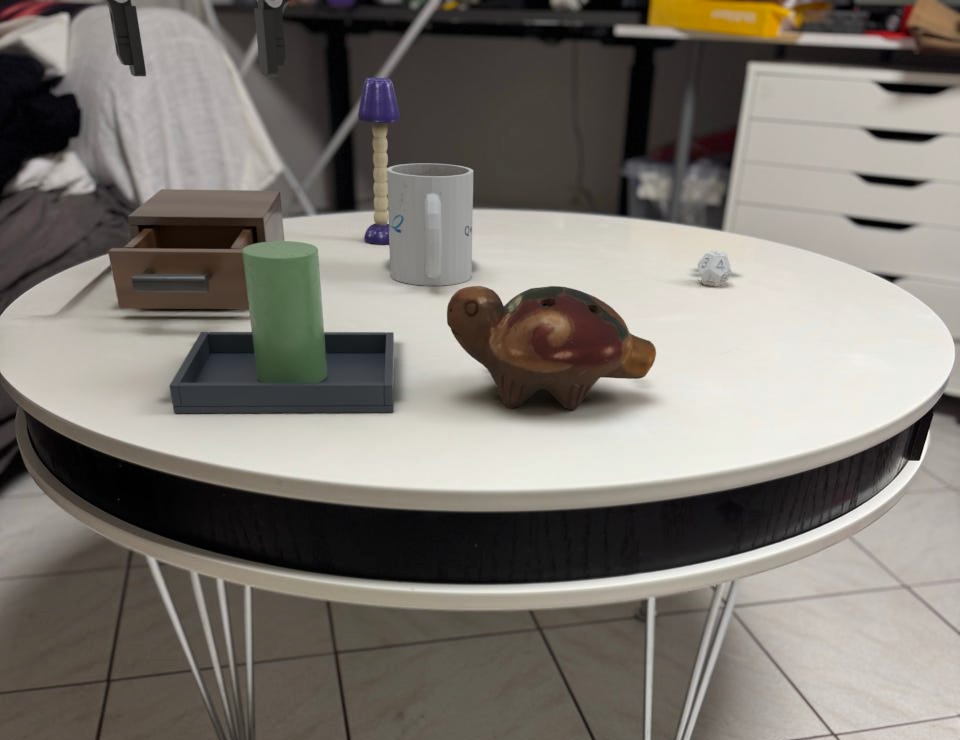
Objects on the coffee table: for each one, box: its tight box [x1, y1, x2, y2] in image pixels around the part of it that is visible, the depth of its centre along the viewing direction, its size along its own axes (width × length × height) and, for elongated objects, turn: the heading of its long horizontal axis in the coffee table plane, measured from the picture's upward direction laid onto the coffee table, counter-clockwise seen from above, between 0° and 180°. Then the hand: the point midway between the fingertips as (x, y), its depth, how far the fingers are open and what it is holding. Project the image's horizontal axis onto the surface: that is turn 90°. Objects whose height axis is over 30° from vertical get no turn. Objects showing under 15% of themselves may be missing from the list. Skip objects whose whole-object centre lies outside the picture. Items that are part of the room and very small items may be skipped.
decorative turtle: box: [446, 285, 657, 411], centre depth 65 cm, size 10×15×8 cm, turn 98°
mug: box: [387, 162, 474, 287], centre depth 92 cm, size 12×9×10 cm
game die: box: [697, 250, 733, 287], centre depth 95 cm, size 4×4×3 cm
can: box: [242, 240, 327, 383], centre depth 66 cm, size 5×5×9 cm
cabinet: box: [127, 188, 286, 243], centre depth 93 cm, size 15×13×7 cm
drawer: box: [107, 225, 257, 310], centre depth 83 cm, size 18×11×5 cm, turn 4°
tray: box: [169, 331, 395, 414], centre depth 68 cm, size 15×12×2 cm
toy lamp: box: [357, 77, 401, 245], centre depth 104 cm, size 5×5×17 cm
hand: (205, 75), depth 60 cm, fingers open, 8 cm apart
